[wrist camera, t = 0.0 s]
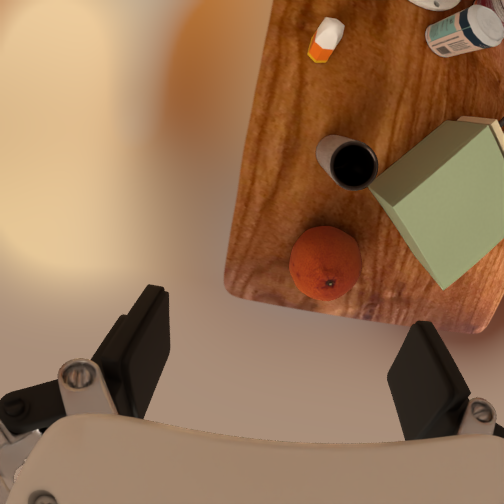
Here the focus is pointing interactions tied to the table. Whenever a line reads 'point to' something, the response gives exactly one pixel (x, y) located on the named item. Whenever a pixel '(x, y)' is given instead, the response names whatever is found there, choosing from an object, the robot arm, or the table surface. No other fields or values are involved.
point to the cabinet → (447, 198)
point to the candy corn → (325, 40)
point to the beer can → (465, 32)
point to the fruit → (325, 263)
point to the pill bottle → (493, 7)
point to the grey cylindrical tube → (347, 161)
